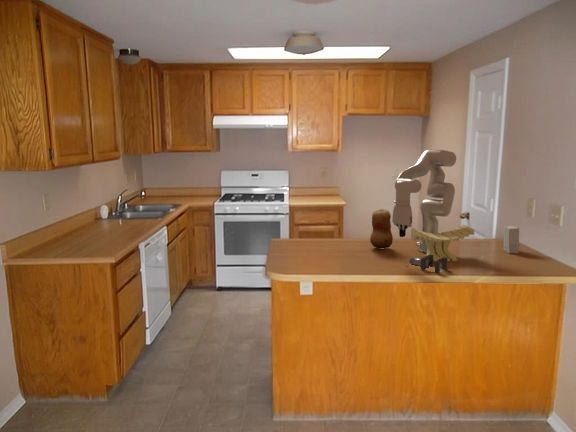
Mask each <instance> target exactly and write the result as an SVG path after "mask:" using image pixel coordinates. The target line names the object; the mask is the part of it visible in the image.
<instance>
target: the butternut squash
mask: <svg viewBox="0 0 576 432" xmlns="http://www.w3.org/2000/svg"><path fill="white" fill-rule="evenodd" d="M391 218H392V216H391V212H390V211H389V209H384V208H379V209H376V210H374V211H373V212H372V215H371V226H372V231H371V235H370V238H369V239H370V240H369V241H370V243H371V245H372V246H373V247H374V248H376V249H378V248H385V249H386V248H390V246H392V245H393V241H394V239H393V238H394V237H393V233H392V231H391V229H392V225H391V224H392V223H391Z"/></svg>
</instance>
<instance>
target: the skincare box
mask: <svg viewBox="0 0 576 432" xmlns="http://www.w3.org/2000/svg"><path fill="white" fill-rule="evenodd" d="M503 251H504V252H506V253H508V254H519V253H520V228H519V227H517V226H514V225H506V226H505V225H504V226H503Z"/></svg>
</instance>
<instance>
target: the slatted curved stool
mask: <svg viewBox="0 0 576 432" xmlns="http://www.w3.org/2000/svg"><path fill="white" fill-rule="evenodd" d="M470 236H475V229H474V228H472V227H470V226H468V225H465V224H460V225H459V226H457V227H454V228H453V229H450V230H447V231H443V232H441V233H440V232H438V233H433V234H432V233H425V232H423V231H422V230H420V229H416V228H415V227H412V228H411V230H410V240H411V241H413V242H415V241H417V240H418V241H422V239H423V240H425V243H426V246H427V253H426V256H427V255H430V254H431V255H433V262H435V261H436V260H438V259H439V257H441V258H443V257H447V262H458V258H456V257H455V256H454V255H453V254H452V253H451V252H450V251H449V245H450V243H451V242H454V241H455V242H457V241H460V239H461V240H462V239H463V240H464V239H465V237H466V238H467V237H470Z"/></svg>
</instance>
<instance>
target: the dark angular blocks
mask: <svg viewBox="0 0 576 432" xmlns="http://www.w3.org/2000/svg"><path fill="white" fill-rule="evenodd" d="M441 264H442V265H441ZM434 267H435V273H434V274H436V273H438V274H441V273H440V268H442V269H443V270H445V271H446V270H448V261H447V257H443V258H441V257H439V259H438V260H436V261H434ZM438 274H437V275H438Z"/></svg>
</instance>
